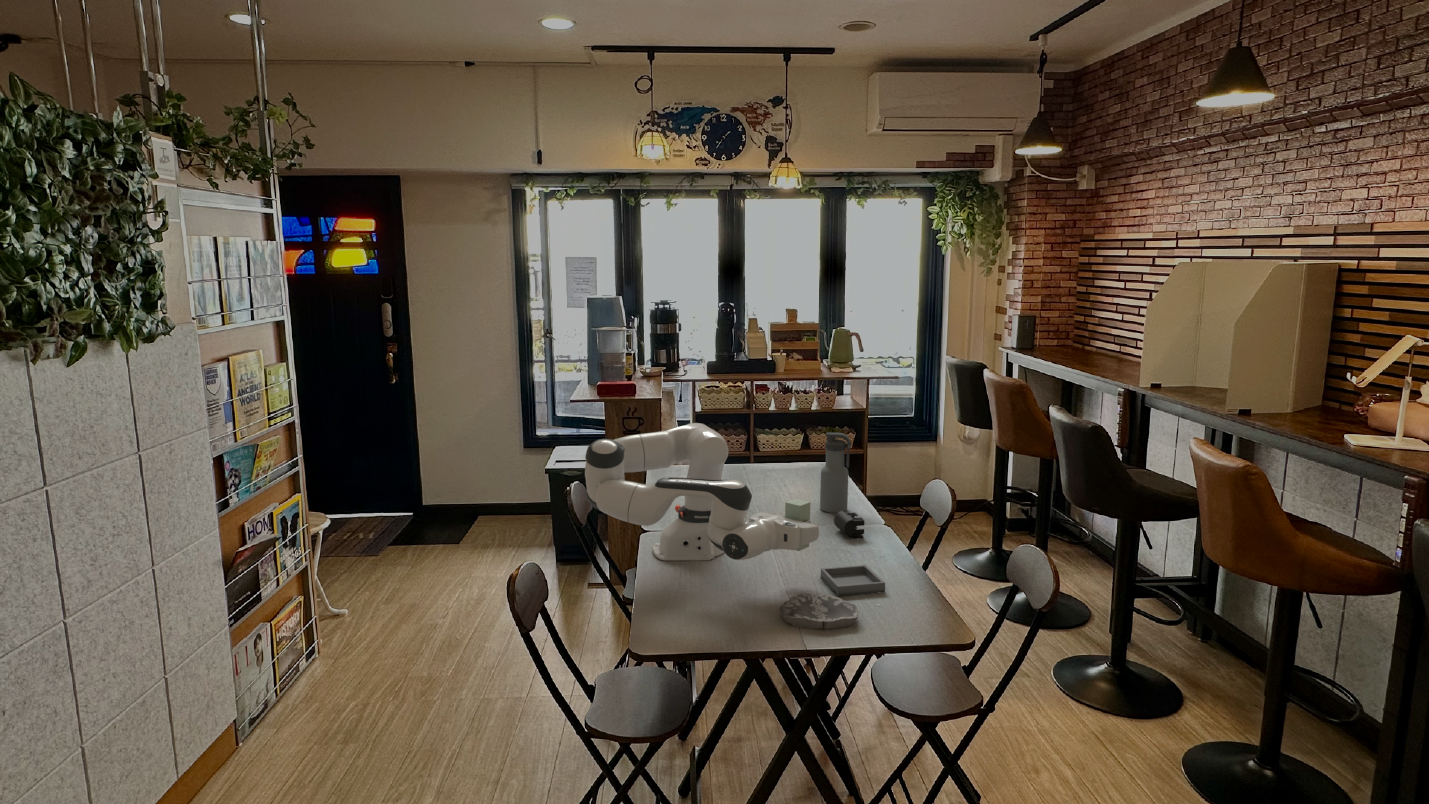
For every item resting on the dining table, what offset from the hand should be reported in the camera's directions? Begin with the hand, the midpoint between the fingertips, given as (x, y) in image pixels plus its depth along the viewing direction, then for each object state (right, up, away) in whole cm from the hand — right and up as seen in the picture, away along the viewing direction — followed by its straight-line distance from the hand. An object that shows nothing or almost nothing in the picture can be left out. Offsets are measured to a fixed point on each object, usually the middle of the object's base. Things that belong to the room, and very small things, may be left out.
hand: (799, 520), depth 237 cm
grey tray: (+14, -18, -3) cm, 23 cm away
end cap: (+20, -11, +40) cm, 46 cm away
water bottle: (+19, -6, +67) cm, 70 cm away
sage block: (-1, -8, +1) cm, 8 cm away
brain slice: (+2, -22, -23) cm, 32 cm away
